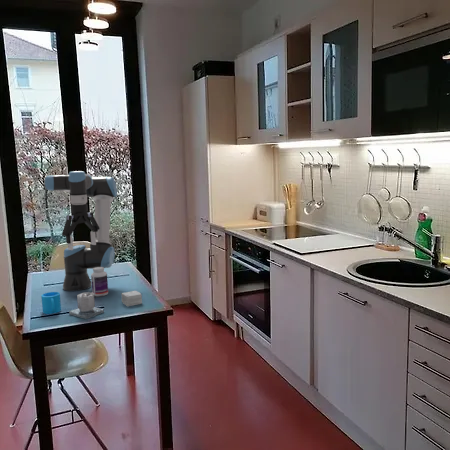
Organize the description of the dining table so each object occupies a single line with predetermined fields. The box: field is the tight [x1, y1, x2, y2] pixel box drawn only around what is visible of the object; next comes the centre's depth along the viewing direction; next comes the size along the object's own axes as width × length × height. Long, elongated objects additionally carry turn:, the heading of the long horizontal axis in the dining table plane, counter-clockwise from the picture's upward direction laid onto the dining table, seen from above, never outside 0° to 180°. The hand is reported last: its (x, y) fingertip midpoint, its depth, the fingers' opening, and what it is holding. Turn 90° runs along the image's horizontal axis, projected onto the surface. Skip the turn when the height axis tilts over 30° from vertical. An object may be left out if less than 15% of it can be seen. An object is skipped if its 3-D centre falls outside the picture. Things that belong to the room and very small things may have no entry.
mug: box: [40, 291, 62, 315], centre depth 212 cm, size 12×8×8 cm
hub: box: [76, 291, 96, 310], centre depth 208 cm, size 7×7×6 cm
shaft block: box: [68, 294, 105, 320], centre depth 208 cm, size 12×10×9 cm
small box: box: [120, 290, 143, 307], centre depth 222 cm, size 8×8×5 cm
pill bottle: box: [90, 267, 109, 297], centre depth 237 cm, size 8×8×14 cm
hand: (82, 247), depth 220 cm, fingers open, 13 cm apart
